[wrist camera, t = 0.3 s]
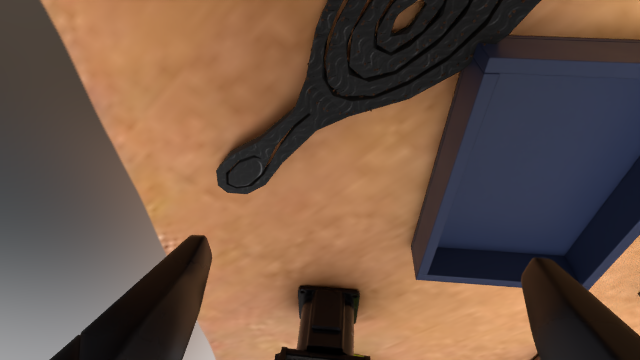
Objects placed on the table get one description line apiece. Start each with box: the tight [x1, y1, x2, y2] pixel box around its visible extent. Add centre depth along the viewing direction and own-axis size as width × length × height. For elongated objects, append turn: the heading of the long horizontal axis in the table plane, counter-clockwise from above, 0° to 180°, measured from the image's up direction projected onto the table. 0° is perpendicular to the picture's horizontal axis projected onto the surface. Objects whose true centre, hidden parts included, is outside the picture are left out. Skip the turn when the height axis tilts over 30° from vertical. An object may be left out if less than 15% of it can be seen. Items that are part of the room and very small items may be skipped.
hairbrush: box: [216, 0, 541, 194], centre depth 20 cm, size 8×4×25 cm
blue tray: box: [411, 35, 640, 290], centre depth 24 cm, size 19×14×4 cm
